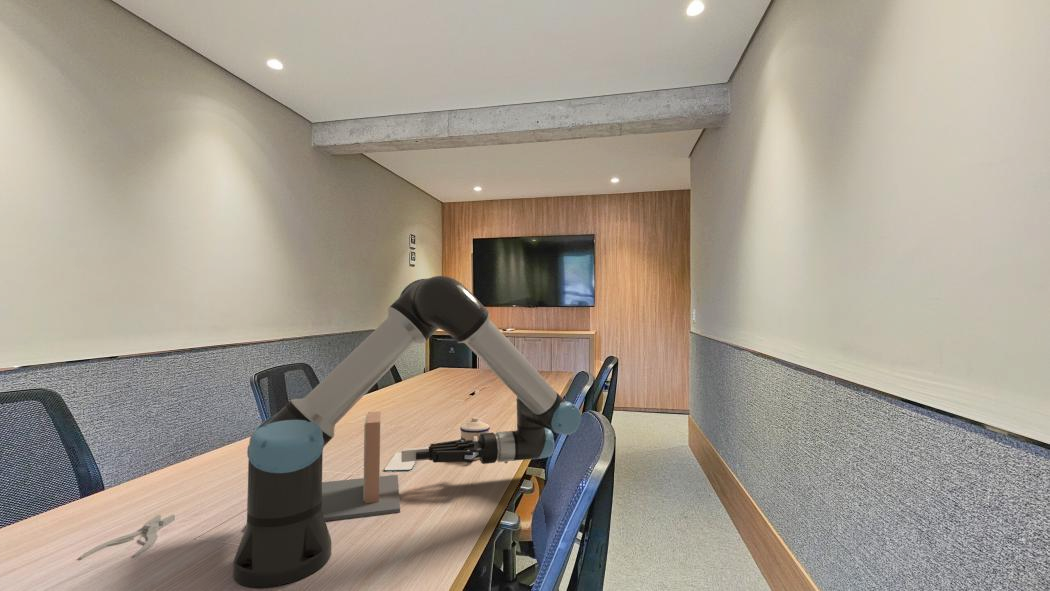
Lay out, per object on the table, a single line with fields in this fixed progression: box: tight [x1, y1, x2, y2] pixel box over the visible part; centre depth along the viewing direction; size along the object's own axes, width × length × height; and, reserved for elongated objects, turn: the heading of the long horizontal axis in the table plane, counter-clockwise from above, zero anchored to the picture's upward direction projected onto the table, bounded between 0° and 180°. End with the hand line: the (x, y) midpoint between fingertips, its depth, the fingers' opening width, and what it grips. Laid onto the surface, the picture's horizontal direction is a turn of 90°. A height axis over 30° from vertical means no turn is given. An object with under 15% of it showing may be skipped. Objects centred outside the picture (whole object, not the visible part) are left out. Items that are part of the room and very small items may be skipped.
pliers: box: [78, 514, 176, 561], centre depth 88 cm, size 10×2×15 cm
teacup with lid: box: [460, 416, 491, 461], centre depth 138 cm, size 12×9×12 cm
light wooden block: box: [363, 410, 382, 503], centre depth 108 cm, size 12×3×18 cm, turn 17°
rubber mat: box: [244, 474, 401, 529], centre depth 105 cm, size 22×30×1 cm
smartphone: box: [383, 451, 417, 472], centre depth 133 cm, size 8×1×16 cm
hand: (401, 455), depth 110 cm, fingers closed
